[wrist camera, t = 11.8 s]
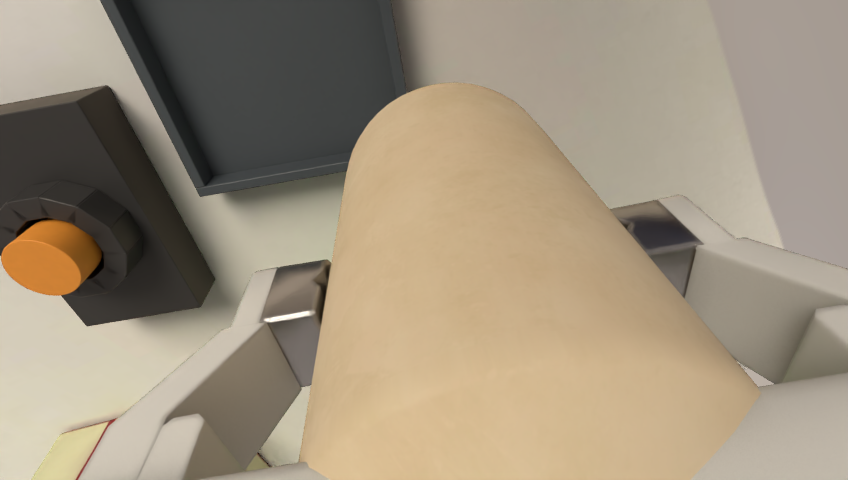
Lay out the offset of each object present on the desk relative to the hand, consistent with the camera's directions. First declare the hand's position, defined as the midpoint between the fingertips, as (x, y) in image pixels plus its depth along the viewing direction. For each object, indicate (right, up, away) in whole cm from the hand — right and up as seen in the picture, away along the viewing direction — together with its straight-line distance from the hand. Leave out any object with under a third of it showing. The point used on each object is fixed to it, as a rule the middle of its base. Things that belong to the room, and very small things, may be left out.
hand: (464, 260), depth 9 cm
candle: (0, +2, +3) cm, 4 cm away
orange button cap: (-21, 0, +15) cm, 26 cm away
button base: (-21, +3, +19) cm, 28 cm away
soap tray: (-9, +11, +15) cm, 20 cm away
